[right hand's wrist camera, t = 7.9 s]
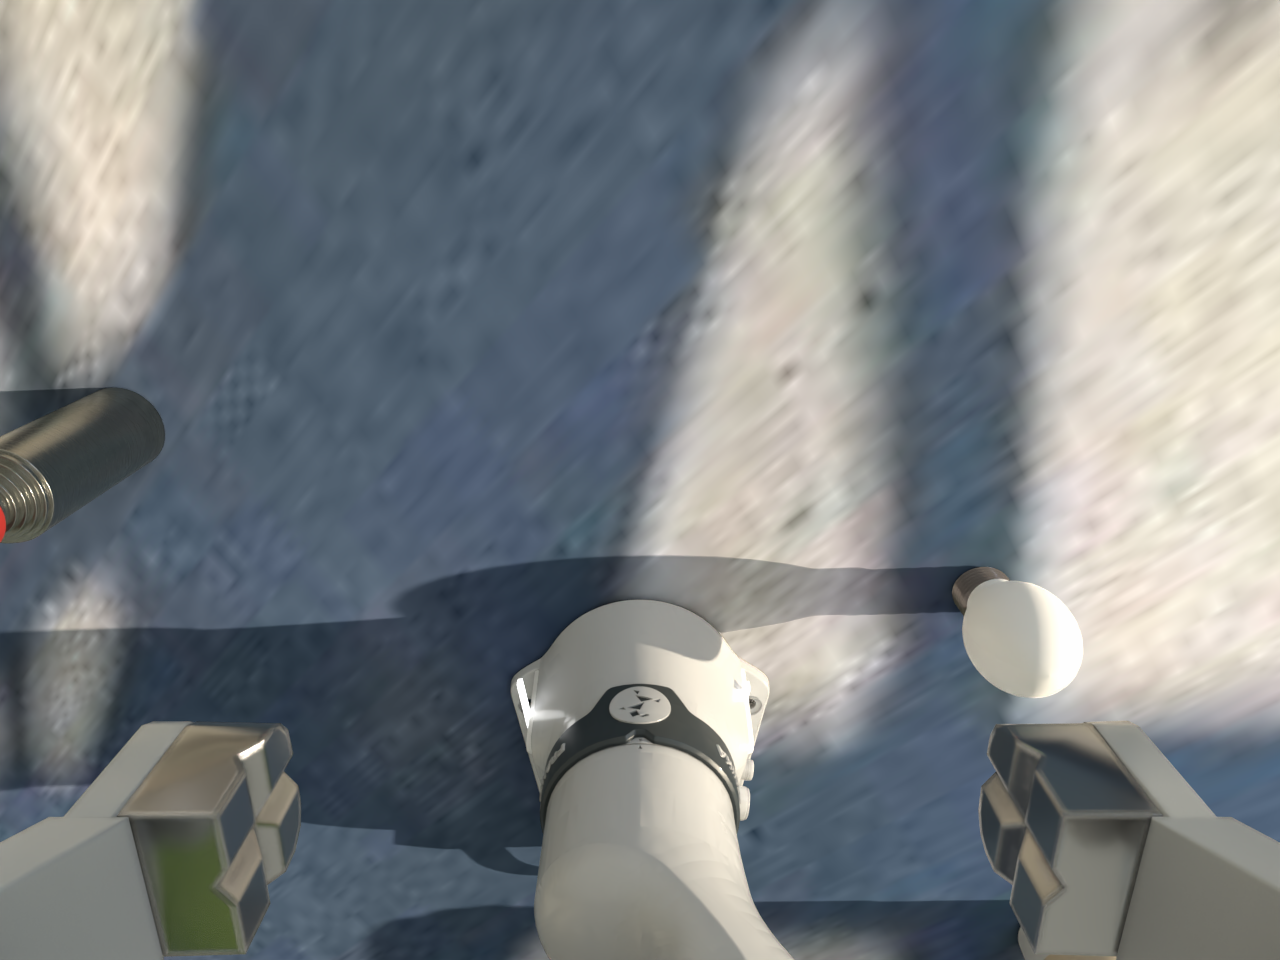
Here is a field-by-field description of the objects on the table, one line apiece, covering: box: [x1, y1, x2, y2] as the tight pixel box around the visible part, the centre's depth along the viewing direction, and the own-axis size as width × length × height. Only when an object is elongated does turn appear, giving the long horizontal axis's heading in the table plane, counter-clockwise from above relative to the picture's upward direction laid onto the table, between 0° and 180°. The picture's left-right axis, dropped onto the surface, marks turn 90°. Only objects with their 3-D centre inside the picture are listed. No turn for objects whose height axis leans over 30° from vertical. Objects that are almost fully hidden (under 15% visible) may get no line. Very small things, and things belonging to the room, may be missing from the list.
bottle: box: [0, 388, 165, 543], centre depth 52 cm, size 6×6×16 cm
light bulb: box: [952, 567, 1083, 698], centre depth 58 cm, size 7×7×11 cm
